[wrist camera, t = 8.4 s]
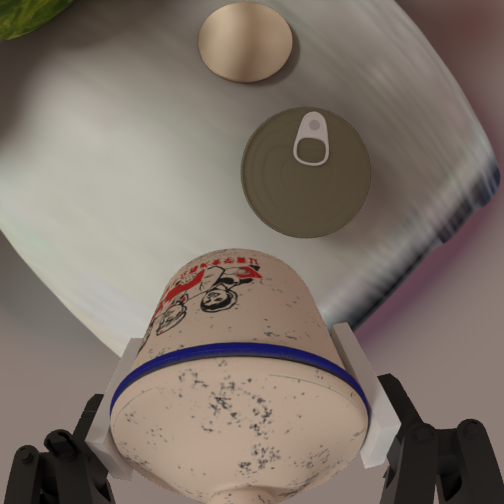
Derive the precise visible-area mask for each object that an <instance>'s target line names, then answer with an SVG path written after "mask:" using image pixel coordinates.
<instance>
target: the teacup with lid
mask: <svg viewBox="0 0 504 504" xmlns="http://www.w3.org/2000/svg"><path fill="white" fill-rule="evenodd" d="M110 426H111V432H112V436H113V439H114V442H115V444H116V446H117V448H118V450H119V452H120V453H121V455H122V456H123V457H124V459H125V460H126V461H127V462H128V463H129V464H130V465H131V466H132V467H133V468H134V469H135V470H136V471H137V472H139V473H140V474H141V475H142V476H144V477H145V478H147V479H148V480H150V481H152V482H153V483H155V484H157V485H159V486H161V487H163V488H165V489H168V490H170V491H172V492H175V493H178V494H181V495H184V496H187V497H189V498H191V499H193V500H196V501H198V502H200V503H203V504H276V503H279V502H282V501H284V500H286V499H288V498H290V497H292V496H294V495H296V494H299V493H302V492H304V491H307V490H309V489H312V488H314V487H316V486H318V485H320V484H322V483H324V482H325V481H327V480H329V479H330V478H332V477H333V476H335V475H336V474H337V473H339V472H340V471H341V470H342V469H344V468H345V467H346V466H347V465H348V464H349V463H350V462H351V461H352V460H353V458H354V457H355V456H356V454H357V453H358V451H359V450H360V448H361V446H362V444H363V442H364V439H365V436H366V432H367V428H368V405H367V400H366V397H365V394H364V392H363V390H362V389H361V387H360V385H359V384H358V383H357V381H356V380H355V379H354V378H353V377H352V376H351V375H350V374H349V373H348V372H347V371H346V370H345V368H344V365H343V363H342V361H341V359H340V357H339V354H338V352H337V350H336V348H335V346H334V343H333V341H332V339H331V337H330V335H329V332H328V330H327V328H326V326H325V324H324V322H323V319H322V317H321V315H320V313H319V311H318V309H317V307H316V305H315V302H314V300H313V298H312V296H311V294H310V292H309V290H308V288H307V286H306V284H305V283H304V281H303V280H302V279H301V277H300V276H299V275H298V274H297V273H296V272H295V271H294V270H293V269H292V268H291V267H290V266H288V265H287V264H285V263H284V262H283V261H281V260H279V259H277V258H275V257H273V256H271V255H268V254H266V253H262V252H259V251H255V250H249V249H224V250H218V251H214V252H210V253H207V254H204V255H202V256H200V257H198V258H195V259H194V260H192V261H190V262H189V263H187V264H186V265H185V266H183V267H182V268H181V269H180V270H179V271H178V272H177V273H176V274H175V275H174V276H173V277H172V279H171V280H170V281H169V283H168V284H167V286H166V288H165V290H164V292H163V294H162V296H161V299H160V301H159V303H158V306H157V308H156V310H155V313H154V315H153V317H152V320H151V322H150V324H149V327H148V329H147V331H146V334H145V336H144V339H143V341H142V343H141V346H140V348H139V351H138V353H137V356H136V358H135V361H134V363H133V366H132V368H131V371H130V373H129V374H128V375H127V376H126V377H125V378H124V380H123V381H122V382H121V383H120V384H119V386H118V387H117V389H116V391H115V393H114V395H113V397H112V400H111V405H110Z"/></svg>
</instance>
